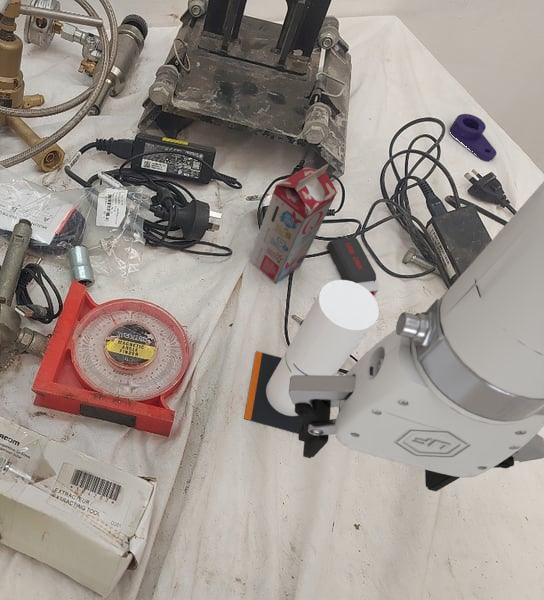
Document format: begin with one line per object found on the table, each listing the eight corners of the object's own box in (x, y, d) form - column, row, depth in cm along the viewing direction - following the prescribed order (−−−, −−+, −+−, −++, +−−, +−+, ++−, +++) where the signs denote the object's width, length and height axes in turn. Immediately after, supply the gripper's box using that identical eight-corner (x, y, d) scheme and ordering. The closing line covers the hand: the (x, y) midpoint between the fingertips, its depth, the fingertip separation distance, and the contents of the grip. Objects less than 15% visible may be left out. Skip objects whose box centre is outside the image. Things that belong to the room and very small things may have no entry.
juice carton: (300, 266, 104) (345, 175, 85) (275, 284, 101) (315, 194, 83) (273, 243, 106) (311, 150, 88) (248, 260, 103) (282, 168, 85)
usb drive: (351, 243, 108) (357, 233, 105) (379, 295, 101) (385, 286, 99) (326, 246, 107) (331, 236, 104) (352, 299, 100) (358, 290, 98)
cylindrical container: (290, 425, 86) (353, 340, 65) (256, 390, 89) (306, 298, 68) (321, 398, 89) (391, 309, 68) (287, 365, 92) (344, 270, 71)
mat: (323, 440, 85) (323, 440, 85) (244, 418, 86) (244, 418, 86) (329, 371, 92) (330, 370, 92) (256, 351, 93) (256, 350, 93)
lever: (443, 128, 129) (450, 117, 127) (464, 123, 131) (472, 111, 128) (479, 164, 123) (487, 152, 121) (501, 157, 125) (509, 146, 122)
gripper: (331, 370, 30) (255, 472, 45) (671, 456, 29) (482, 533, 43) (338, 263, 35) (267, 387, 49) (636, 333, 33) (474, 440, 47)
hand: (368, 455), depth 46 cm, fingers open, 9 cm apart
